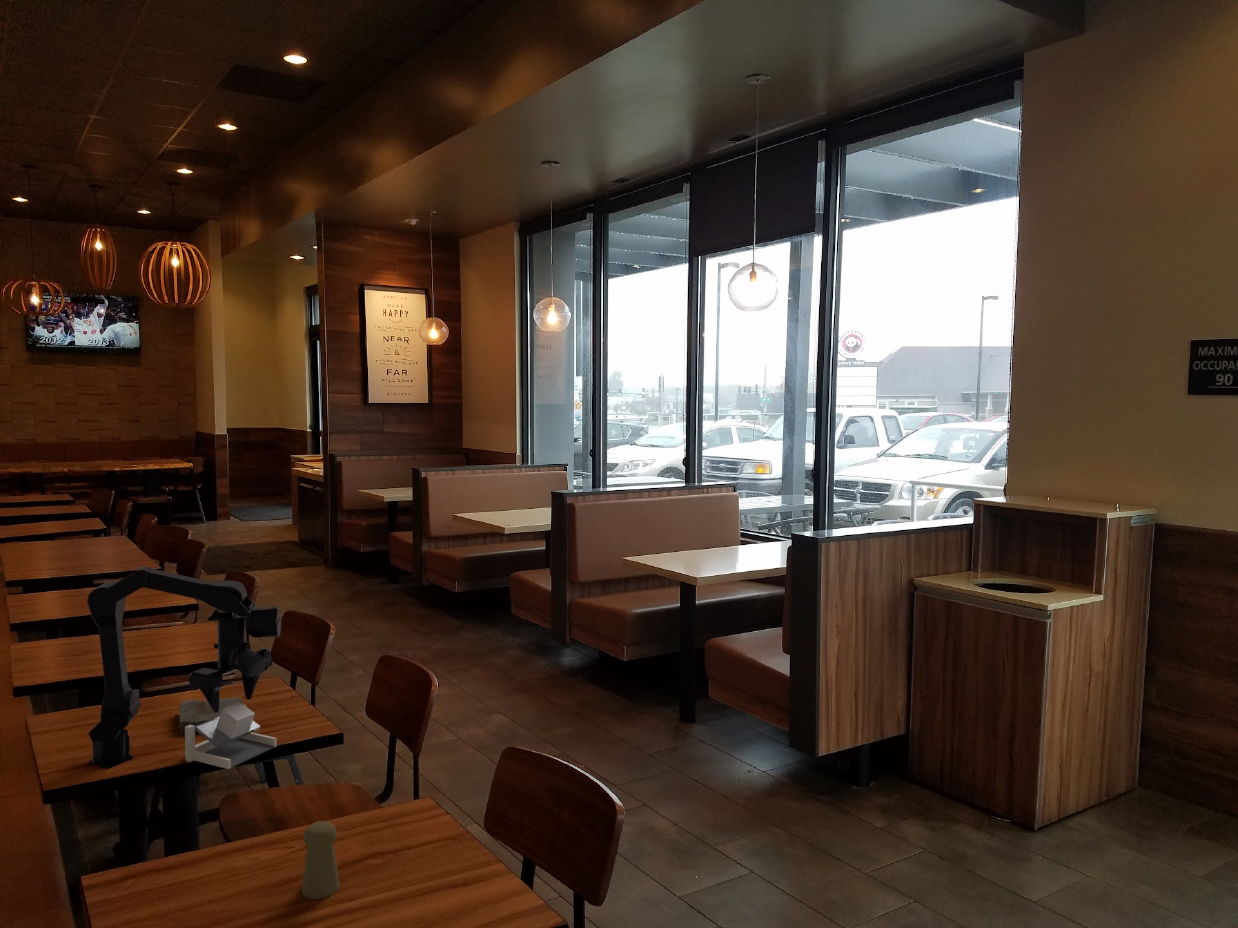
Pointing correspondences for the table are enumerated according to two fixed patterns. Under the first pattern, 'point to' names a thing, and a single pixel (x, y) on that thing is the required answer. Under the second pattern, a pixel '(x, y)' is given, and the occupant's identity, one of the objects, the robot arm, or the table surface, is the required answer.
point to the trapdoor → (219, 732)
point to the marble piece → (201, 711)
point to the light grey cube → (235, 720)
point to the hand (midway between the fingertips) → (232, 705)
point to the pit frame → (226, 749)
